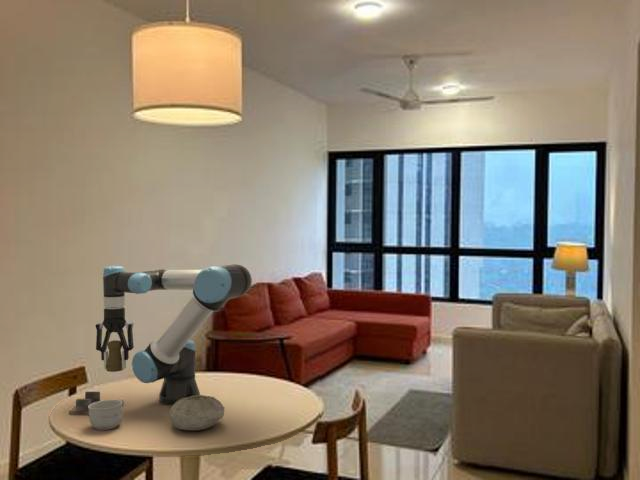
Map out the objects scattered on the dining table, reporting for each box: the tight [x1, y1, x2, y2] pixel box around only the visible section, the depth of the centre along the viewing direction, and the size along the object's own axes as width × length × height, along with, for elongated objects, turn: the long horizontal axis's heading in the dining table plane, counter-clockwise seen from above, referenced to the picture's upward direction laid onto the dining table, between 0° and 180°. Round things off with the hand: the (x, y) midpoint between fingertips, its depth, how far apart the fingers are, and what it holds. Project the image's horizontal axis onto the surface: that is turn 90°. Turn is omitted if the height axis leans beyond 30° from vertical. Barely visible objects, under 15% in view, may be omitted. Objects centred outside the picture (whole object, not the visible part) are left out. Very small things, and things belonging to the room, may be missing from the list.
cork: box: [106, 339, 123, 373], centre depth 234 cm, size 6×6×11 cm
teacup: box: [88, 398, 125, 431], centre depth 208 cm, size 14×11×8 cm
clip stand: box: [68, 391, 101, 415], centre depth 224 cm, size 10×10×5 cm
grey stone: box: [169, 394, 225, 432], centre depth 208 cm, size 18×18×10 cm
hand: (115, 368), depth 234 cm, fingers closed on cork, 6 cm apart
